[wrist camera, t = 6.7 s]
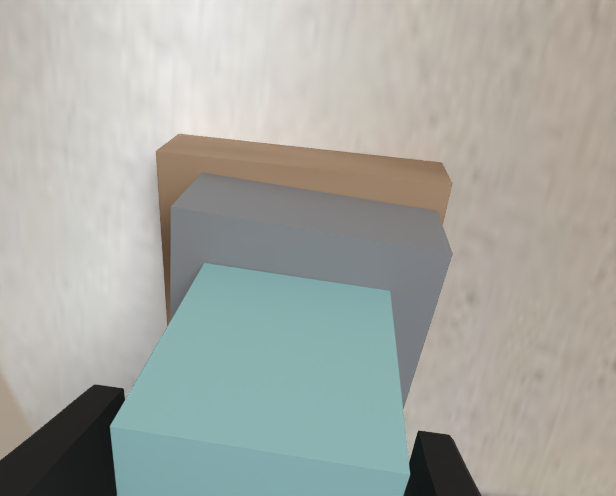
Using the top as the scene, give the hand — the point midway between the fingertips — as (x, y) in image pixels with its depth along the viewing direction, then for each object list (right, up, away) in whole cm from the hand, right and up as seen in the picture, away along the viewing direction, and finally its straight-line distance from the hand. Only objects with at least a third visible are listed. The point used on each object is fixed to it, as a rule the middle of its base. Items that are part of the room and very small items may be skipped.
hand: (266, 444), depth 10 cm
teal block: (0, +1, +3) cm, 3 cm away
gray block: (+1, +3, +5) cm, 6 cm away
